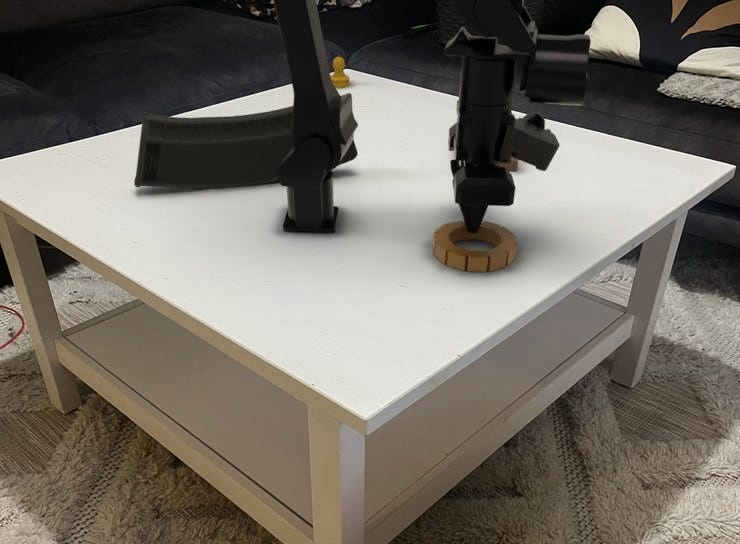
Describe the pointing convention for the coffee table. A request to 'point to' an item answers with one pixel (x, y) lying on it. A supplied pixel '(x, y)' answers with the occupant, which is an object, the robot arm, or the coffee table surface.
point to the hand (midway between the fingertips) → (472, 228)
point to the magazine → (216, 150)
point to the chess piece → (339, 73)
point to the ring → (474, 258)
